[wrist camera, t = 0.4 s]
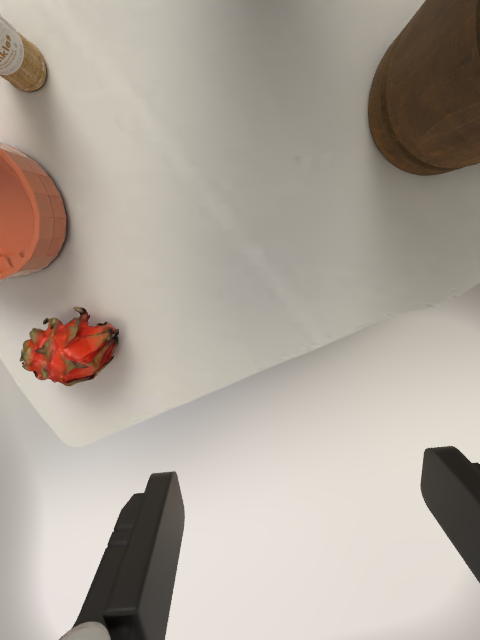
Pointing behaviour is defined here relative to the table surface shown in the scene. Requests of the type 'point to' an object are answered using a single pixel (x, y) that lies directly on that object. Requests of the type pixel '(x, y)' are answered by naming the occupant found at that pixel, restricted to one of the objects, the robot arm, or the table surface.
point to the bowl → (27, 215)
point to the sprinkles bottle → (20, 59)
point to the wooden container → (430, 91)
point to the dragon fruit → (69, 349)
